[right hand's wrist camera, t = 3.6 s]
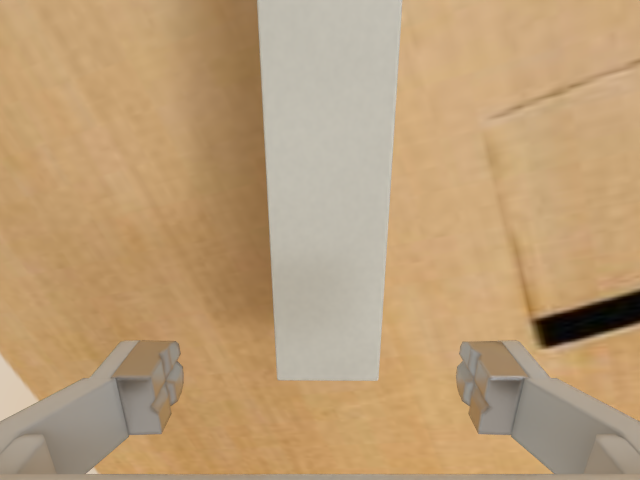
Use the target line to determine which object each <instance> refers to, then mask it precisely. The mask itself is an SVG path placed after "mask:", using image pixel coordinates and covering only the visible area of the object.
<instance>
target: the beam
mask: <svg viewBox="0 0 640 480" xmlns="http://www.w3.org/2000/svg"><path fill="white" fill-rule="evenodd" d="M257 12H258V30H259V49H260V68H261V86H262V105H263V124H264V142H265V161H266V180H267V198H268V217H269V236H270V254H271V273H272V292H273V310H274V329H275V348H276V366H277V379H278V380H331V381H377V380H378V378H379V362H380V346H381V331H382V315H383V299H384V283H385V267H386V252H387V236H388V220H389V204H390V189H391V173H392V157H393V141H394V125H395V110H396V94H397V78H398V62H399V46H400V31H401V15H402V0H257Z"/></svg>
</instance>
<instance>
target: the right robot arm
mask: <svg viewBox="0 0 640 480" xmlns="http://www.w3.org/2000/svg"><path fill="white" fill-rule="evenodd" d="M180 354H181V353H180V348H179V344H178V343H177V342H176V341H143V340H142V341H140V340H125V341H122V342H120V343H119V344H118V345H117V346H116V347H115V349H114V350H113V351H112V352H111V353H110V355H109V356H108V357H107V358H106V359H105V360H104V362H103V363H102V364H101V365H100V366H99V367H98V369H97V370H96V371H95V372H94V373H93V374H92V376H91V377H90V378H83V379H81V380H79V381H77V382H75V383H73V384H72V385H70V386H68V387H66V388H64V389H62V390H60V391H58V392H56V393H54V394H52V395H50V396H48V397H47V398H45V399H43V400H41V401H39V402H37V403H35V404H33V405H31V406H29V407H27V408H25V409H23V410H22V411H20V412H18V413H16V414H14V415H12V416H10V417H8V418H6V419H4V420H2V421H0V480H640V422H639V421H637V420H636V419H634V418H632V417H630V416H628V415H626V414H624V413H622V412H620V411H618V410H616V409H614V408H613V407H611V406H609V405H607V404H605V403H603V402H601V401H599V400H597V399H595V398H593V397H591V396H590V395H588V394H586V393H584V392H582V391H580V390H578V389H576V388H574V387H572V386H570V385H568V384H567V383H565V382H563V381H561V380H559V379H557V378H550V377H549V376H548V374H547V373H546V372H545V371H544V370H543V369H542V367H541V366H540V365H539V364H538V363H537V362H536V360H535V359H534V358H533V357H532V356H531V355H530V353H529V352H528V351H527V350H526V349H525V348H524V346H523V345H522V344H521V343H520V342H518V341H516V340H506V341H474V342H462V344H461V347H460V353H459V354H460V356H461V358H462V360H463V361H462V362H461V363H460V364H459V365H458V367H457V374H456V381H457V388H458V392H459V395H460V397H461V399H462V401H463V402H464V403H466V404H467V405H469V406H470V408H469V416H470V418H471V420H472V422H473V424H474V426H475V428H476V430H477V432H478V434H496V435H511V437H512V438H513V439H515V440H516V441H517V442H518V443H519V444H520V445H522V446H523V447H524V448H525V449H526V450H527V451H529V452H530V453H531V454H532V455H533V456H534V457H536V458H537V459H538V460H539V461H540V462H541V463H542V464H544V465H545V466H546V467H547V468H548V469H549V470H551V471H552V472H553V473H554V474H86V473H87V472H88V471H89V470H91V469H92V468H93V467H94V466H95V465H96V464H98V463H99V462H100V461H101V460H102V459H103V458H105V457H106V456H107V455H108V454H109V453H110V452H112V451H113V450H114V449H115V448H116V447H117V446H119V445H120V444H121V443H122V442H123V441H124V440H126V439H127V438H128V437H129V435H143V434H162V432H163V430H164V428H165V426H166V424H167V422H168V420H169V418H170V416H171V408H170V406H171V405H173V404H174V403H176V402H177V401H178V399H179V397H180V395H181V392H182V387H183V383H184V372H183V367H182V366H181V364H180V363H179V362H178V361H177V360H178V358H179V356H180Z"/></svg>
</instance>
